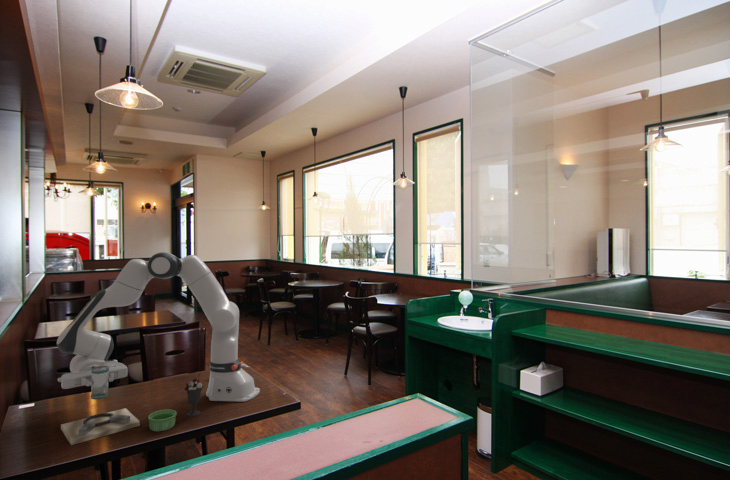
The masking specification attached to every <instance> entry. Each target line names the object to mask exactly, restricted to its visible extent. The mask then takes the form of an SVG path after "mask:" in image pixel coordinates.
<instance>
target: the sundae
mask: <svg viewBox="0 0 730 480" xmlns="http://www.w3.org/2000/svg"><path fill="white" fill-rule="evenodd" d="M197 378H198V379H197ZM184 384H185V385H186V386H185V388H184V389H183V390H184V391H186V395H187V402H188V404H190V405H191V410H190V411H189V412H187V413H186V416H187V417H192V418H193V417H196V416H199V415H201V413H202V412H201V411H200V410H197V409H196V408H197V407H196V405H197V404H199V402H200V401H201V400H200V399H201V393H202V390H203V388H205V386H204V385H203V384H202V382H201V380H200V376H199V375H197V376H196V377H193V379H192V380H190V381H189V383H187V382H185V383H184Z"/></svg>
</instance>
